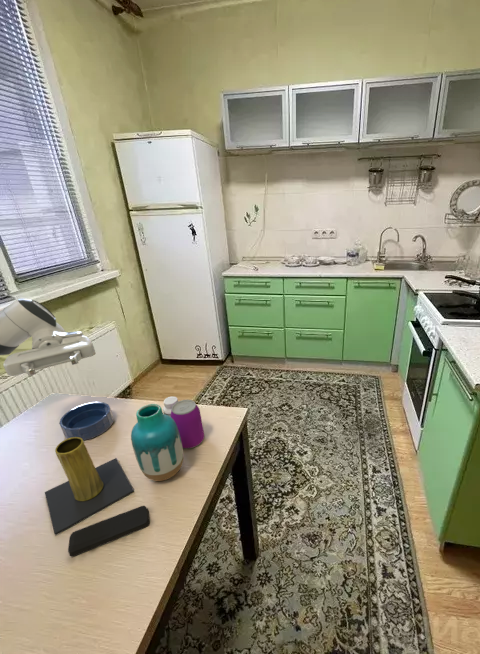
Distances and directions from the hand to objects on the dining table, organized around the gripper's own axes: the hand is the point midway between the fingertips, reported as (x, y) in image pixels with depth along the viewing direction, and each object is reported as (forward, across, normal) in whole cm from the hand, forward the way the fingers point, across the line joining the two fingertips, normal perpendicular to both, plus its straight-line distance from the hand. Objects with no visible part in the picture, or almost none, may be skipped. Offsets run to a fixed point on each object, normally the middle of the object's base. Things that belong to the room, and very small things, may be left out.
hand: (53, 367), depth 83 cm
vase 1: (+22, 0, +24) cm, 33 cm away
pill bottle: (+10, +24, +24) cm, 35 cm away
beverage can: (+20, +25, +24) cm, 40 cm away
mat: (+23, 0, +24) cm, 33 cm away
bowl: (-5, +3, +24) cm, 25 cm away
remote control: (+36, +2, +24) cm, 44 cm away
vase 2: (+27, +16, +24) cm, 40 cm away
